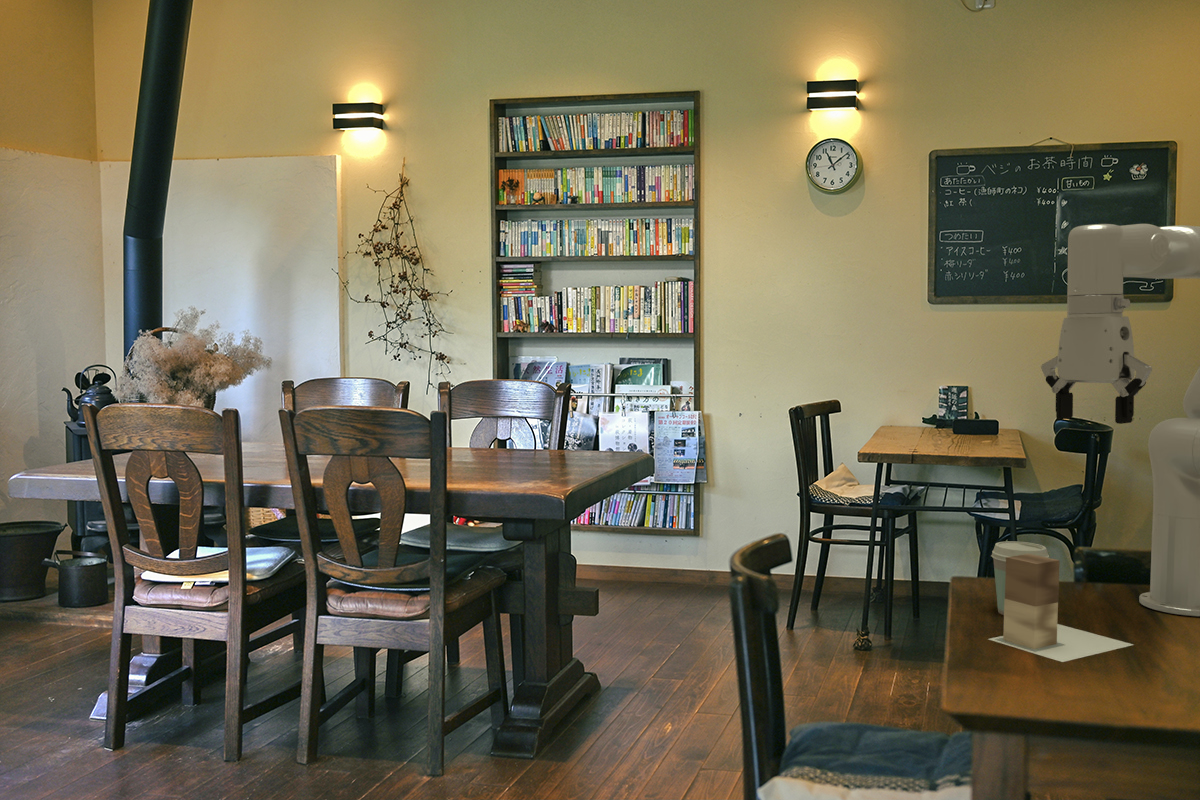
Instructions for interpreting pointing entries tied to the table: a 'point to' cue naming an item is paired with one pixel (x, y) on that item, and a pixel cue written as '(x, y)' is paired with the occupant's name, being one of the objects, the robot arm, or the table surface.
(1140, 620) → the table surface
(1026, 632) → the beech block
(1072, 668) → the table surface
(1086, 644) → the build board
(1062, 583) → the table surface
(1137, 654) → the table surface
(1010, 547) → the coffee cup
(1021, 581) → the walnut block
